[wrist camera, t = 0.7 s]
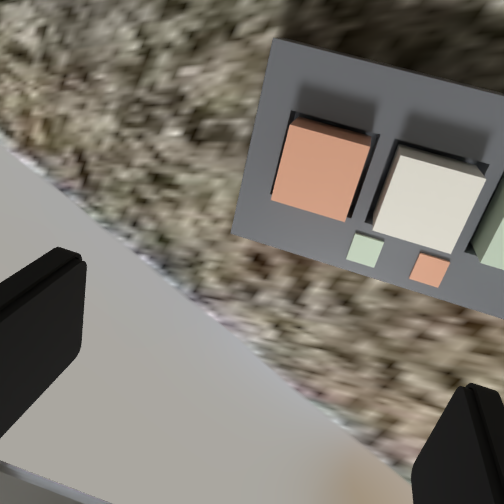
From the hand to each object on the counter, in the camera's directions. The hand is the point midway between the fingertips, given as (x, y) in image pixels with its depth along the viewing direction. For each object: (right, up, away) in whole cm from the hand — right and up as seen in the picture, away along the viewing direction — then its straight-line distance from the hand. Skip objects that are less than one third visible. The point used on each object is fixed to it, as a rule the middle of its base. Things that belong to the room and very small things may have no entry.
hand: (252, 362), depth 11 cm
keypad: (+11, +7, +18) cm, 22 cm away
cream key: (+10, +6, +16) cm, 20 cm away
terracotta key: (+4, +8, +17) cm, 19 cm away
